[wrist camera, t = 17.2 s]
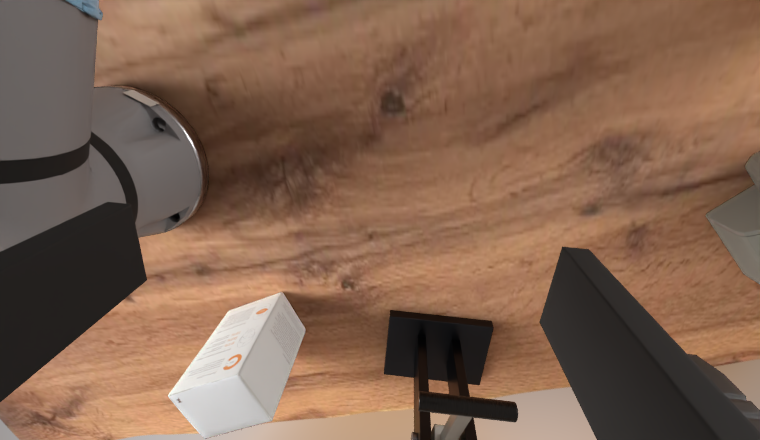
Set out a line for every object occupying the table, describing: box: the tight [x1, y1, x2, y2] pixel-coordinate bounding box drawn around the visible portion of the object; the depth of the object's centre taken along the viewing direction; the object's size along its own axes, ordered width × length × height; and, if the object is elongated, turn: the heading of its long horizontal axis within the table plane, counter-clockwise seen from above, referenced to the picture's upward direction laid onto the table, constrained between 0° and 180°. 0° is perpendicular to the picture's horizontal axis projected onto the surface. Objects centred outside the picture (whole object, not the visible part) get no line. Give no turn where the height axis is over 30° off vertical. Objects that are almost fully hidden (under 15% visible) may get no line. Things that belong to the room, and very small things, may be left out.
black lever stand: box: [384, 310, 493, 440], centre depth 39 cm, size 9×12×15 cm
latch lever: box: [417, 391, 518, 440], centre depth 31 cm, size 12×7×2 cm, turn 176°
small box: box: [168, 292, 306, 439], centre depth 41 cm, size 8×6×13 cm
